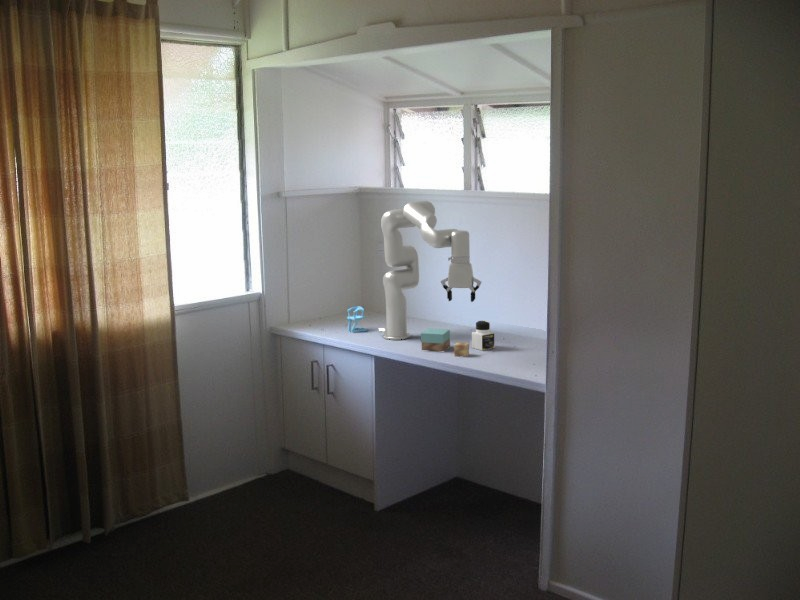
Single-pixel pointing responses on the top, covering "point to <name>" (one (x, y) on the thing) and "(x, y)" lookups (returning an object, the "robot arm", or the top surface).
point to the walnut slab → (436, 346)
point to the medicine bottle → (482, 336)
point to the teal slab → (435, 336)
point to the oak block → (461, 349)
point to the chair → (355, 319)
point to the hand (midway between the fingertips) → (461, 300)
